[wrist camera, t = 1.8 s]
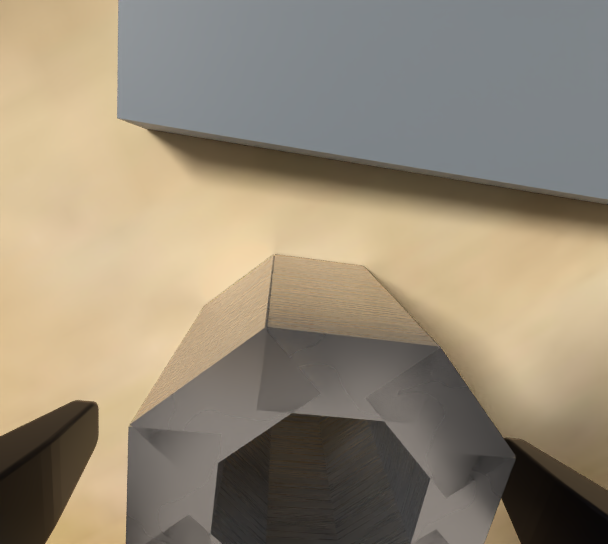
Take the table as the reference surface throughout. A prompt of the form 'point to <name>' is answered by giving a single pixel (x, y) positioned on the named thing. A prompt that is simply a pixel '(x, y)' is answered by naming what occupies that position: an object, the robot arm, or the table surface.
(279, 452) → the hub
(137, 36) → the block
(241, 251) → the table surface
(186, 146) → the table surface
